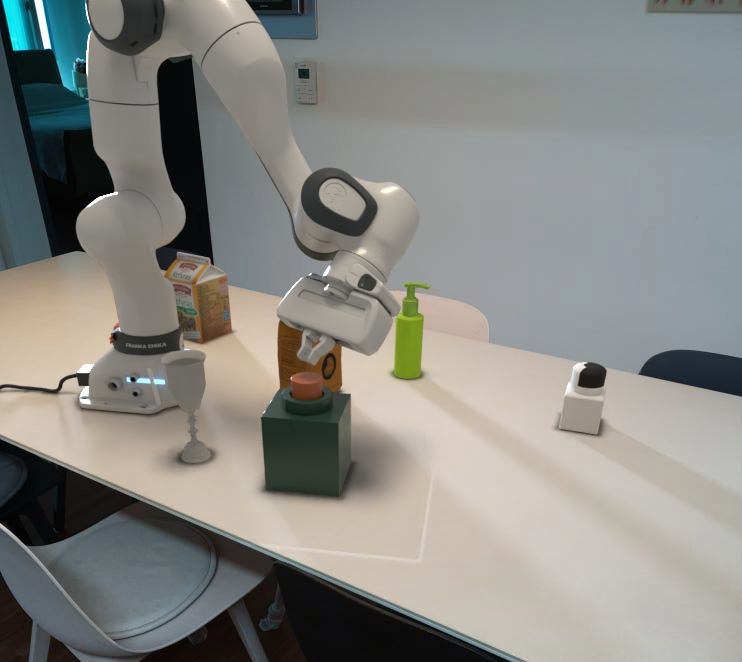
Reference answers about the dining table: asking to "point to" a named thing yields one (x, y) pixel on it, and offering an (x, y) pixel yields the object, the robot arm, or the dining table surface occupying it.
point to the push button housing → (307, 442)
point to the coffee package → (291, 364)
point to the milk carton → (200, 297)
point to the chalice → (188, 394)
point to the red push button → (306, 386)
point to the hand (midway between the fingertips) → (305, 361)
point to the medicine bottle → (584, 398)
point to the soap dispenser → (409, 335)
